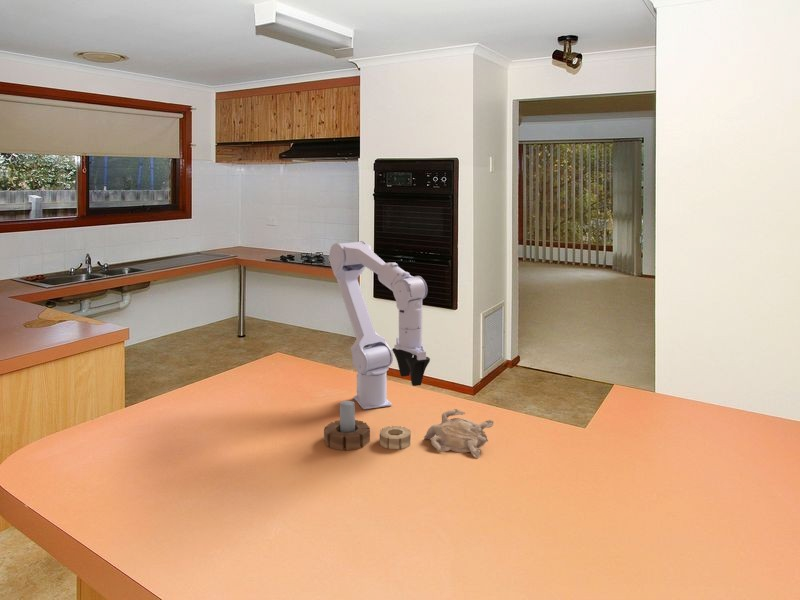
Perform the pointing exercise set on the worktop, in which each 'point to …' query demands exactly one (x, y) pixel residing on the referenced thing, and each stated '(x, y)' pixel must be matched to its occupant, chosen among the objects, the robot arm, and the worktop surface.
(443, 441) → the turtle
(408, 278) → the robot arm
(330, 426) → the brown segmented ring
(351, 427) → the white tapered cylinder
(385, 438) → the beige notched ring
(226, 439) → the worktop surface
